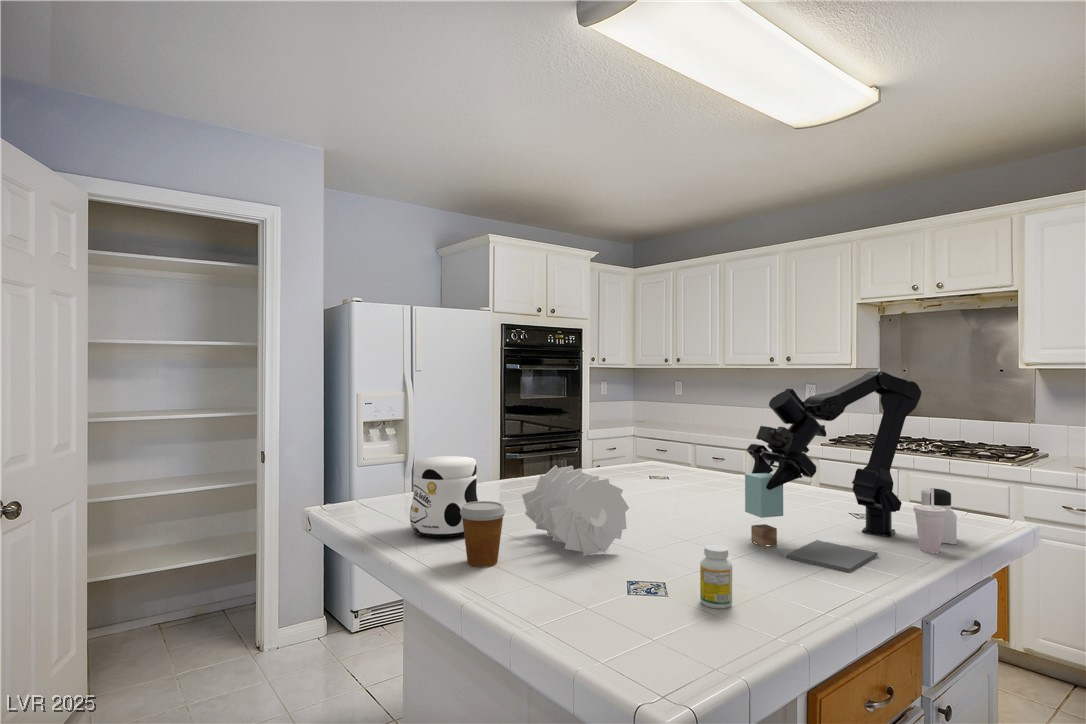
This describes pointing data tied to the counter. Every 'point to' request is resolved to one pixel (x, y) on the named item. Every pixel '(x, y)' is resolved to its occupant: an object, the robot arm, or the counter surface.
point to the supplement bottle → (716, 577)
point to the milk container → (442, 494)
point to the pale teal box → (762, 496)
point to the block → (764, 534)
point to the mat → (832, 555)
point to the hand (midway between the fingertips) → (758, 486)
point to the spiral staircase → (577, 509)
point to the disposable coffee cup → (482, 531)
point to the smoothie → (930, 525)
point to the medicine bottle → (950, 521)
